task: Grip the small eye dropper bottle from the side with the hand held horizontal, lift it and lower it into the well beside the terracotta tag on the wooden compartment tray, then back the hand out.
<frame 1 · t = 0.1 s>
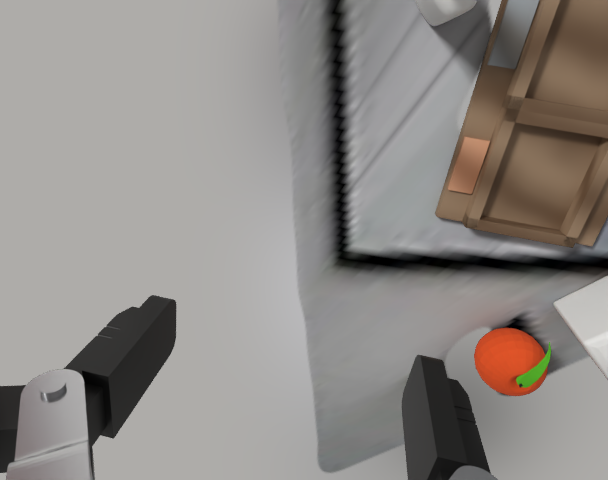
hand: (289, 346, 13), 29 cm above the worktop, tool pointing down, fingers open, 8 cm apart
clementine: (502, 336, 45), on the worktop
medicine bottle: (599, 307, 42), on the worktop
wooden compartment tray: (555, 114, 35), on the worktop
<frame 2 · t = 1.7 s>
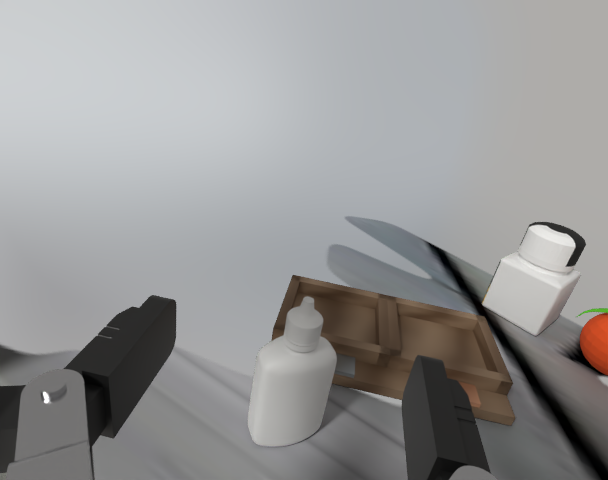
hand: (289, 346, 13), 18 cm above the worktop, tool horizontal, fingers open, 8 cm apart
clementine: (597, 368, 44), on the worktop
medicine bottle: (518, 313, 51), on the worktop
wooden compartment tray: (382, 340, 42), on the worktop
eye dropper bottle: (283, 428, 31), on the worktop
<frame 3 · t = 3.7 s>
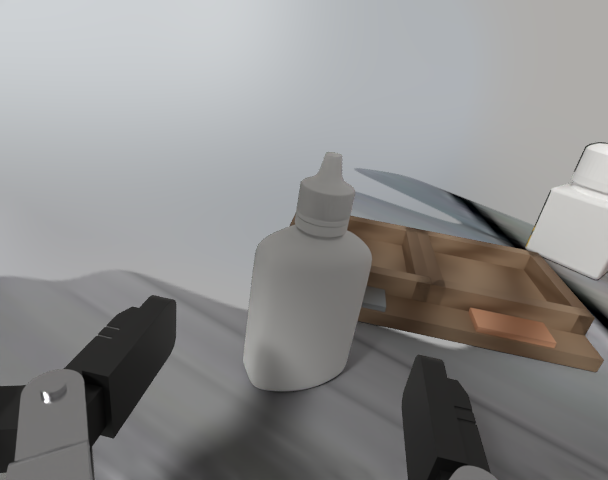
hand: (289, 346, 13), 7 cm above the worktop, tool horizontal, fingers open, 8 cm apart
medicine bottle: (568, 259, 43), on the worktop
wooden compartment tray: (414, 278, 33), on the worktop
eye dropper bottle: (293, 370, 22), on the worktop
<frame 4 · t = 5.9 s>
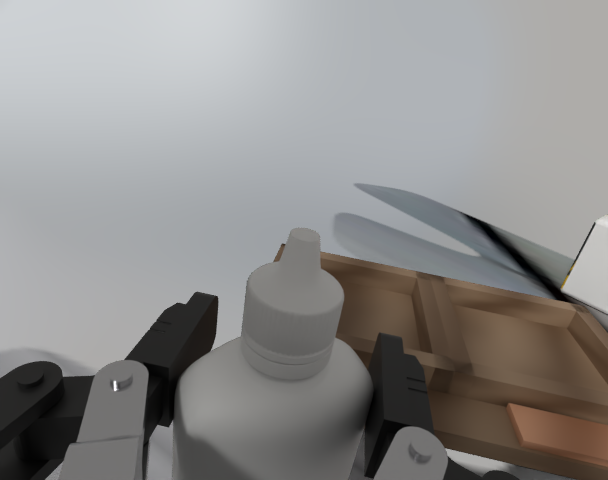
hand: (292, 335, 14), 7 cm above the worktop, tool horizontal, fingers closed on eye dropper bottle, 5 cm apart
wooden compartment tray: (428, 345, 25), on the worktop
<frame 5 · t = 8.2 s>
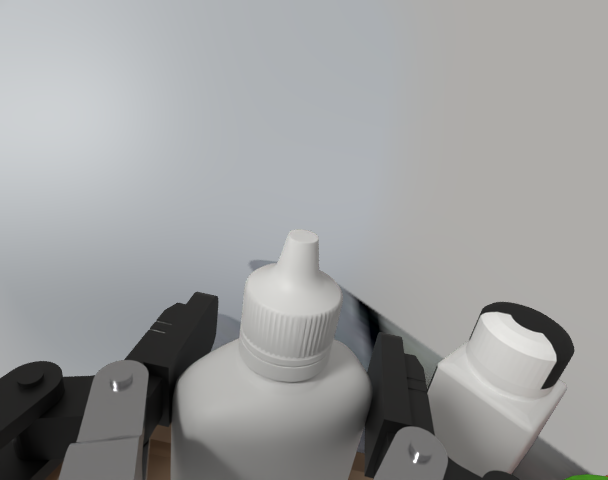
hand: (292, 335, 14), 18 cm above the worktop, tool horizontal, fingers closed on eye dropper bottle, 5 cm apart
medicine bottle: (470, 438, 33), on the worktop
when the fingers open (9 cm above the worktop, at t = 10.7 s): eye dropper bottle drops 1 cm, resting on wooden compartment tray.
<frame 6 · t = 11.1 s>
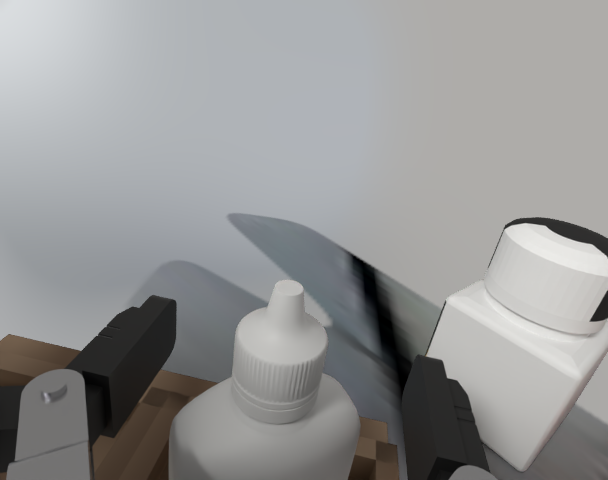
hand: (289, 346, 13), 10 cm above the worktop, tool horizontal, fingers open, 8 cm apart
medicine bottle: (488, 403, 25), on the worktop
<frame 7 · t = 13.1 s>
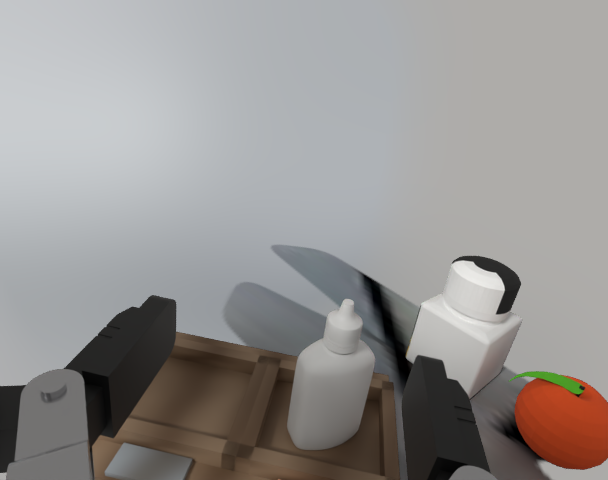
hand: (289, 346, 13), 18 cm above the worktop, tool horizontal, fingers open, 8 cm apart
clementine: (539, 447, 34), on the worktop
medicine bottle: (451, 367, 41), on the worktop
wooden compartment tray: (253, 422, 32), on the worktop
eye dropper bottle: (322, 432, 31), point 1 cm above the worktop, touching wooden compartment tray
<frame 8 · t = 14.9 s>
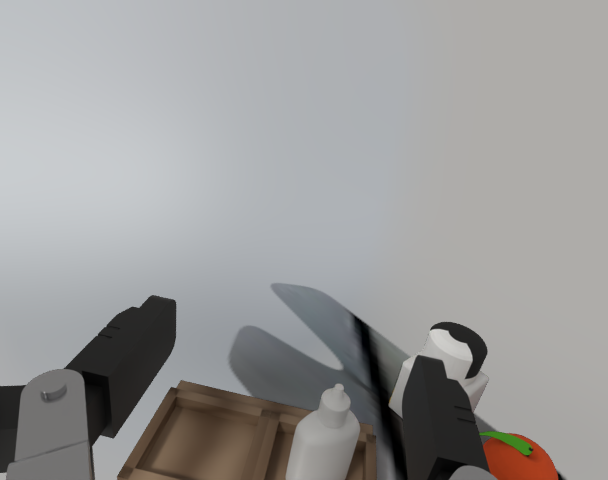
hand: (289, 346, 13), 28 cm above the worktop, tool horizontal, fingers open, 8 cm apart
medicine bottle: (427, 414, 48), on the worktop
wooden compartment tray: (256, 471, 38), on the worktop
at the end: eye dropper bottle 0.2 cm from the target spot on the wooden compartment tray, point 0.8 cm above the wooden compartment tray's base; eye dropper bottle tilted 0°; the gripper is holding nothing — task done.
